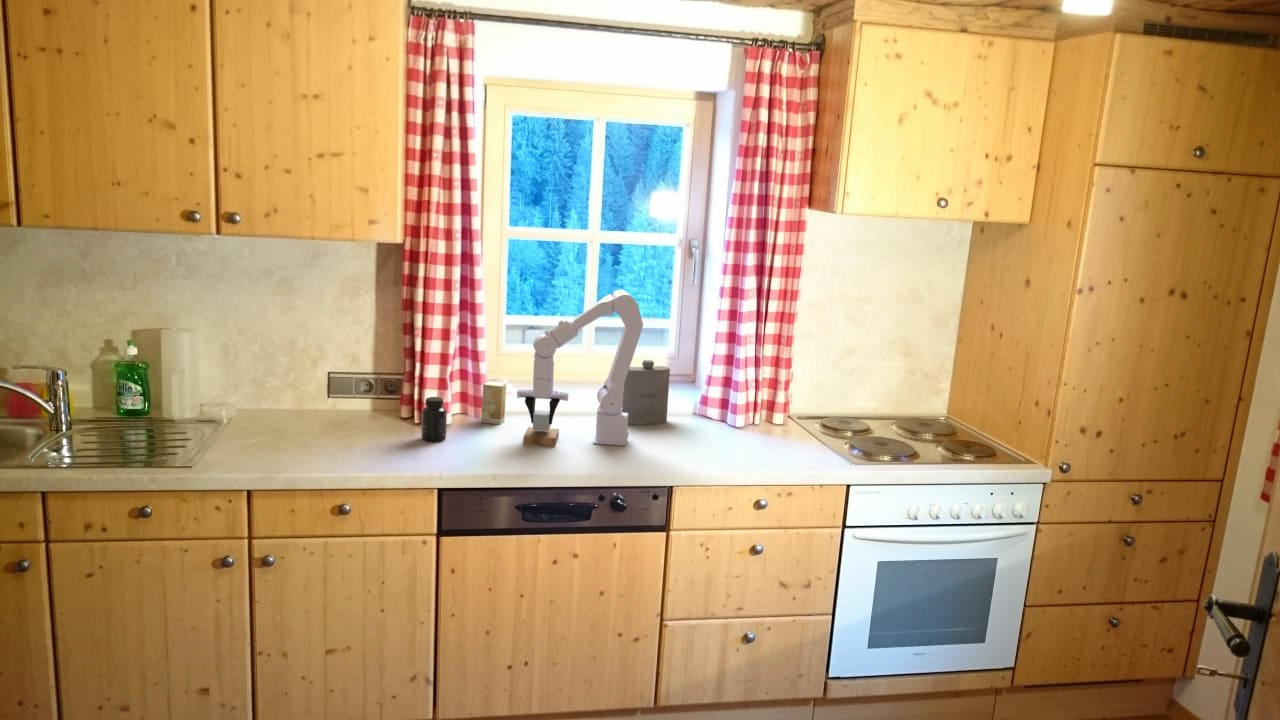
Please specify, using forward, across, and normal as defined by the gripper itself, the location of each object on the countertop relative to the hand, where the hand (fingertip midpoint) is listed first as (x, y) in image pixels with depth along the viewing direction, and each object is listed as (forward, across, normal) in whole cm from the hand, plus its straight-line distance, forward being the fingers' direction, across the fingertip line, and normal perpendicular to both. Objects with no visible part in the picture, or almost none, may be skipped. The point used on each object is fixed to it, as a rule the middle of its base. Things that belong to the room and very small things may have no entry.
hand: (541, 422), depth 269 cm
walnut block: (+6, 0, 0) cm, 6 cm away
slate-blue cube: (+2, 0, 0) cm, 2 cm away
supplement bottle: (+6, +30, +5) cm, 31 cm away
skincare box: (+6, +17, -16) cm, 24 cm away
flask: (+6, -29, -26) cm, 39 cm away
